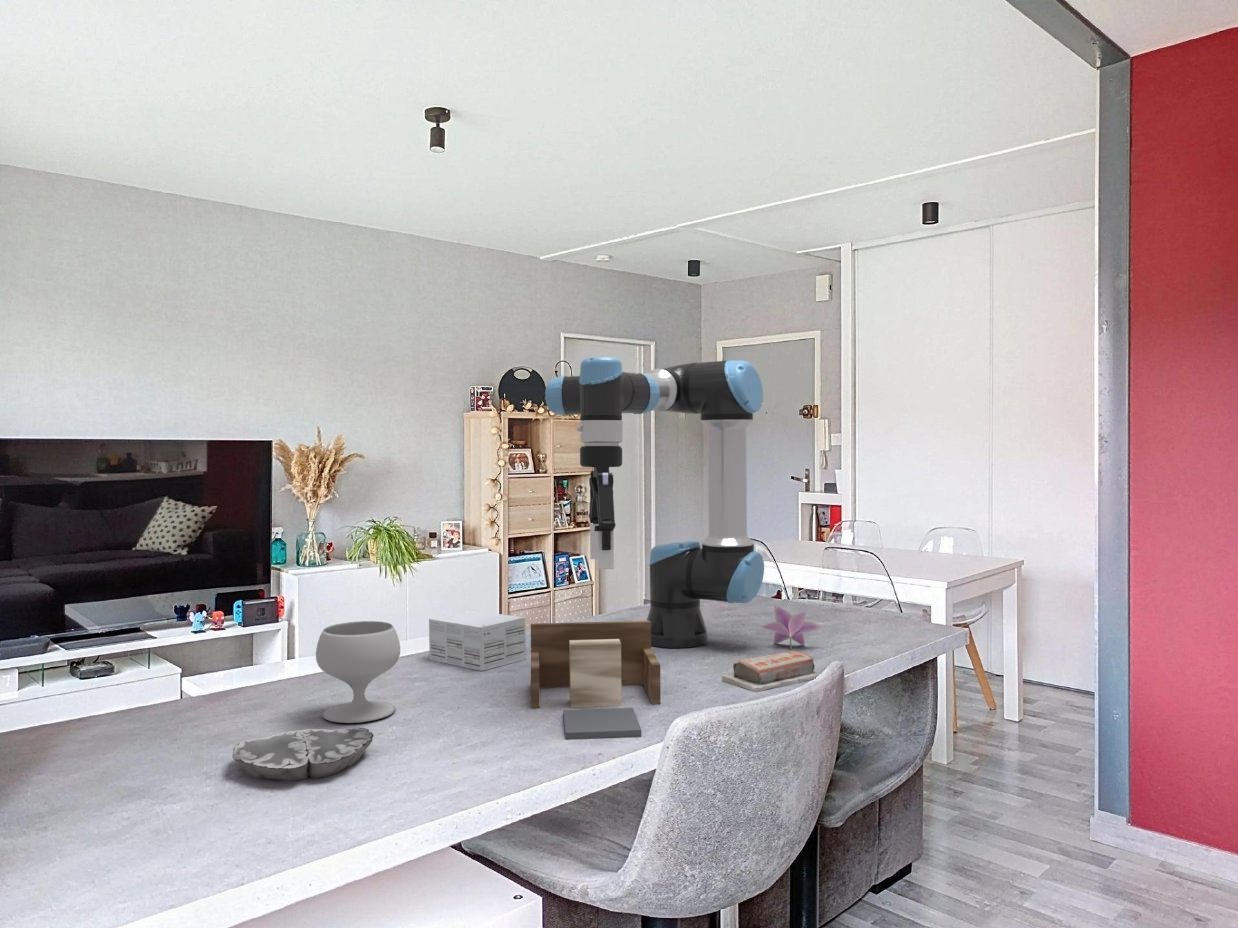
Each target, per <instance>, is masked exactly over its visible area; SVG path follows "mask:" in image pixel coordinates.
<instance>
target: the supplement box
mask: <svg viewBox="0 0 1238 928" xmlns="http://www.w3.org/2000/svg"><path fill="white" fill-rule="evenodd" d="M428 631H429V632H428V636H429V637H428V641H429V647H428V648H429V658H428V659H429V660H430V661H434V662H438V663H443V664H446V665H447V664H448V665H452V666H455V667H461V668H466V669H469V670H474V671H480V672H484V671H489V670H491V669H494V668H499V667H502V666H506V665H510V664H515V663H518V662H522V661H525V660H527V658H526V651H527V649H526V648H527V647H526V643H527V642H526V639H527V638H526V617H524V616H522V617H521V616H514V615H508V614H502V613H494V612H490V611H489V612H488V611H482V610H476V609H471V610H465V611H460V612H455V613H451V614H445V615H441V616H435V617H430V618H428Z"/></svg>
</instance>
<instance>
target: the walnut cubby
mask: <svg viewBox="0 0 1238 928" xmlns="http://www.w3.org/2000/svg"><path fill="white" fill-rule="evenodd" d="M599 639H619V640H620V642H621V686H633V685H635V686H636V685H638V686H639V685H643V687H644V690H645V691H646V694H647V696H648V698H649V700H650V703H651V705H660V704H661V703H662V702H661V663H660V662H659V659H657V657H656V655H655V653H654V651H653V650H652V645H651V622H650V621H646V620H629V621H628V620H627V621H625V620H621V621H619V620H618V621H590V622H589V621H588V622H586V621H585V622H581V621H579V622H577V621H576V622H547V623H546V622H545V623H544V622H543V623H530V708H531V709H540V706H541V705H540V688H567V687H569V688H570V646H569V640H599Z"/></svg>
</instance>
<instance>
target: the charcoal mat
mask: <svg viewBox="0 0 1238 928" xmlns="http://www.w3.org/2000/svg"><path fill="white" fill-rule="evenodd" d="M562 718H563V725H564V734H565V735H564V736H565V737H564V738H565V740H577V739H580V740H582V739H604V738H628V737H629V738H630V737H633V738H634V737H642V728H641V725H640V723H639V720H638V718H637V715H636V712H635V709H634V707H615V708H611V707H610V708H588V709H587V708H586V709H585V708H584V709H583V708H582V709H563V710H562Z"/></svg>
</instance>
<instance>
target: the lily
mask: <svg viewBox="0 0 1238 928" xmlns="http://www.w3.org/2000/svg"><path fill="white" fill-rule="evenodd" d="M773 610H774V611H773V613H774V618H775V622H769V623H766V624H764V625H762V626H761V627H762V628H763V629H766V630H769V631H772V632H774V635H773V639H772V641H773V642H772V643H773V644H775V645H776V644H777V645H778V644H779V643H781V642H784V641H787V640H789V645H790V646H789V647H790V648H789V649H790V651H793V647H792V640H793V641H795V642H796V643H797V644H799V645H801V646H805V643H806V642H805V640H806V639H805V635H804V634H805V633H809V632H812V631H816V630H820V629H822V628H823V627H822V626H821V625H820V624H818V623H815V622H813V621H809V620H806V617H807V611H805V610H803V611H801V612H798V613H795V614H794V615H792V614H791V613H790V612H789V610H786V609H784V608H783V607H780V606H777V605H776V606H774V607H773Z"/></svg>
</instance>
